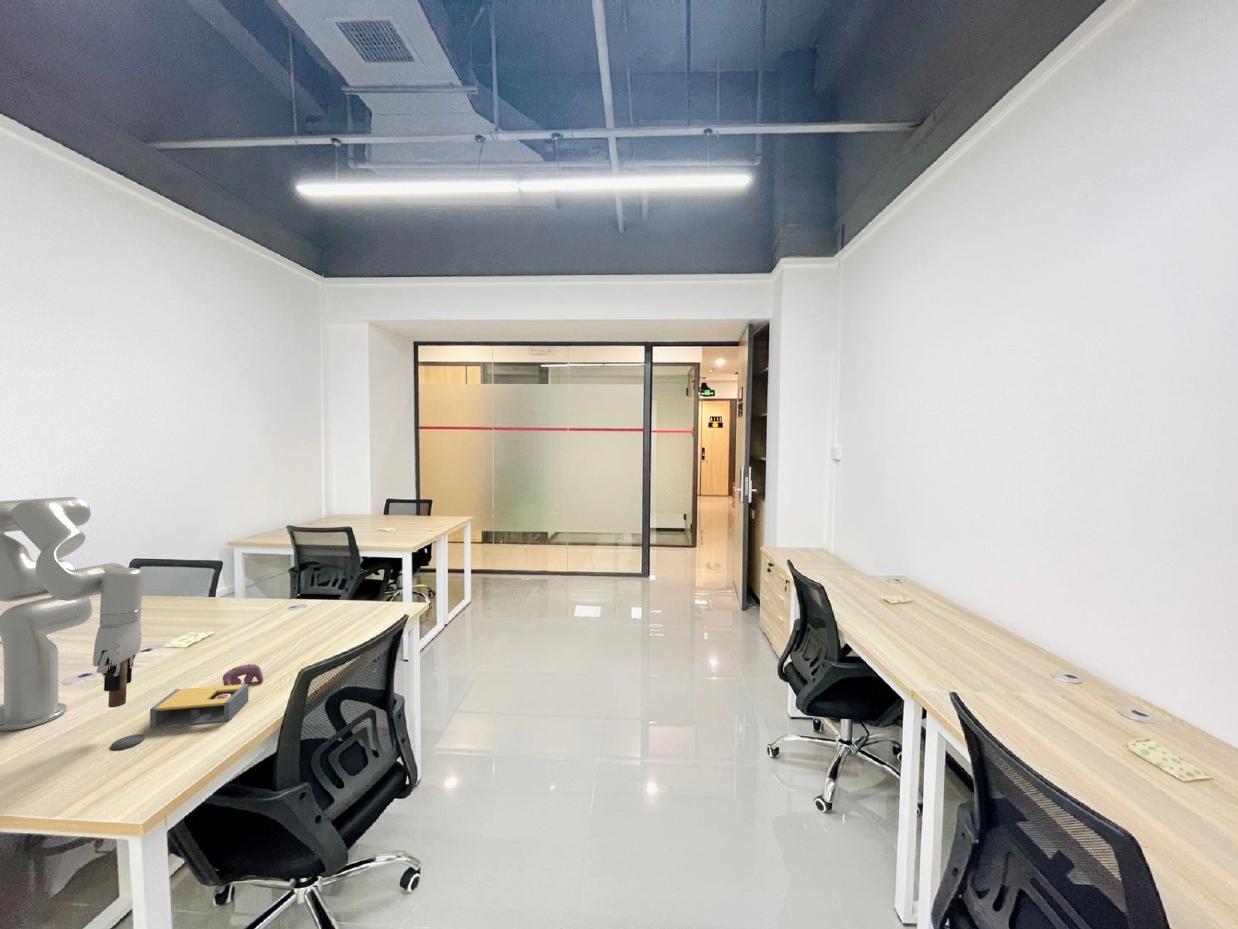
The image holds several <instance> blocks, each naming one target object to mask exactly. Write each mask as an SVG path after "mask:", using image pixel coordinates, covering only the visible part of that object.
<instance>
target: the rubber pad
mask: <svg viewBox="0 0 1238 929" xmlns="http://www.w3.org/2000/svg"><path fill="white" fill-rule="evenodd" d="M144 740H145V735H143V734H131V735H127V736H124V737H121V738H119V739H117V740H115V741H114V742H112V743H111V745H110V749H111V750H113V751H120V750H125V749H130V748H132V747H135V746H137V745H139V744H141V743H142V742H143V741H144Z"/></svg>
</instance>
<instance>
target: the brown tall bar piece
mask: <svg viewBox="0 0 1238 929" xmlns="http://www.w3.org/2000/svg"><path fill="white" fill-rule="evenodd" d="M109 663H112V662H109ZM127 663H128V659H126V660H125V661H123V662H121V663H120V670H119V675H121V688H120V690H118V691H108V702H107V703H108V705H107V706H108V708H118V707H121V706H123V705H126V703H127V687H128V686H127ZM109 668H112V669H114V667H109Z"/></svg>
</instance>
